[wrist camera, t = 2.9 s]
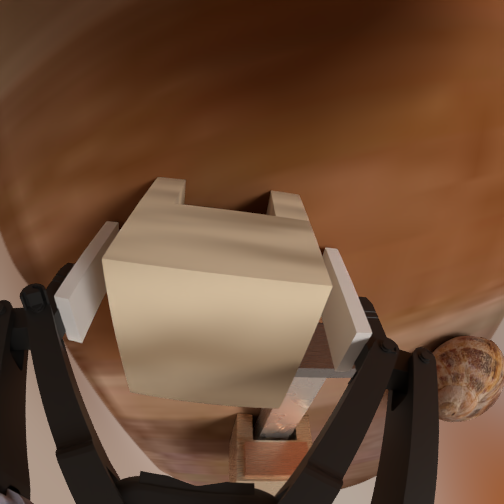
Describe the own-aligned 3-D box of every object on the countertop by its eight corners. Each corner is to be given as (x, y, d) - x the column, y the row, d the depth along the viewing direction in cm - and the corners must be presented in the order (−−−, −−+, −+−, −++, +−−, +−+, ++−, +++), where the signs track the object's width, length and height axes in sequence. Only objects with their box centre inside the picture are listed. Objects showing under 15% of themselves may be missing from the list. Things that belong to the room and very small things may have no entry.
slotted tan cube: (157, 176, 15) (101, 258, 9) (299, 194, 16) (332, 286, 10) (158, 301, 20) (132, 397, 14) (268, 314, 21) (276, 413, 14)
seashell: (375, 392, 26) (447, 442, 16) (418, 308, 26) (502, 335, 17) (427, 406, 29) (486, 441, 20) (461, 337, 30) (527, 361, 20)
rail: (262, 318, 21) (267, 417, 15) (361, 325, 22) (390, 412, 15) (228, 443, 33) (227, 497, 27) (287, 445, 34) (291, 497, 28)
